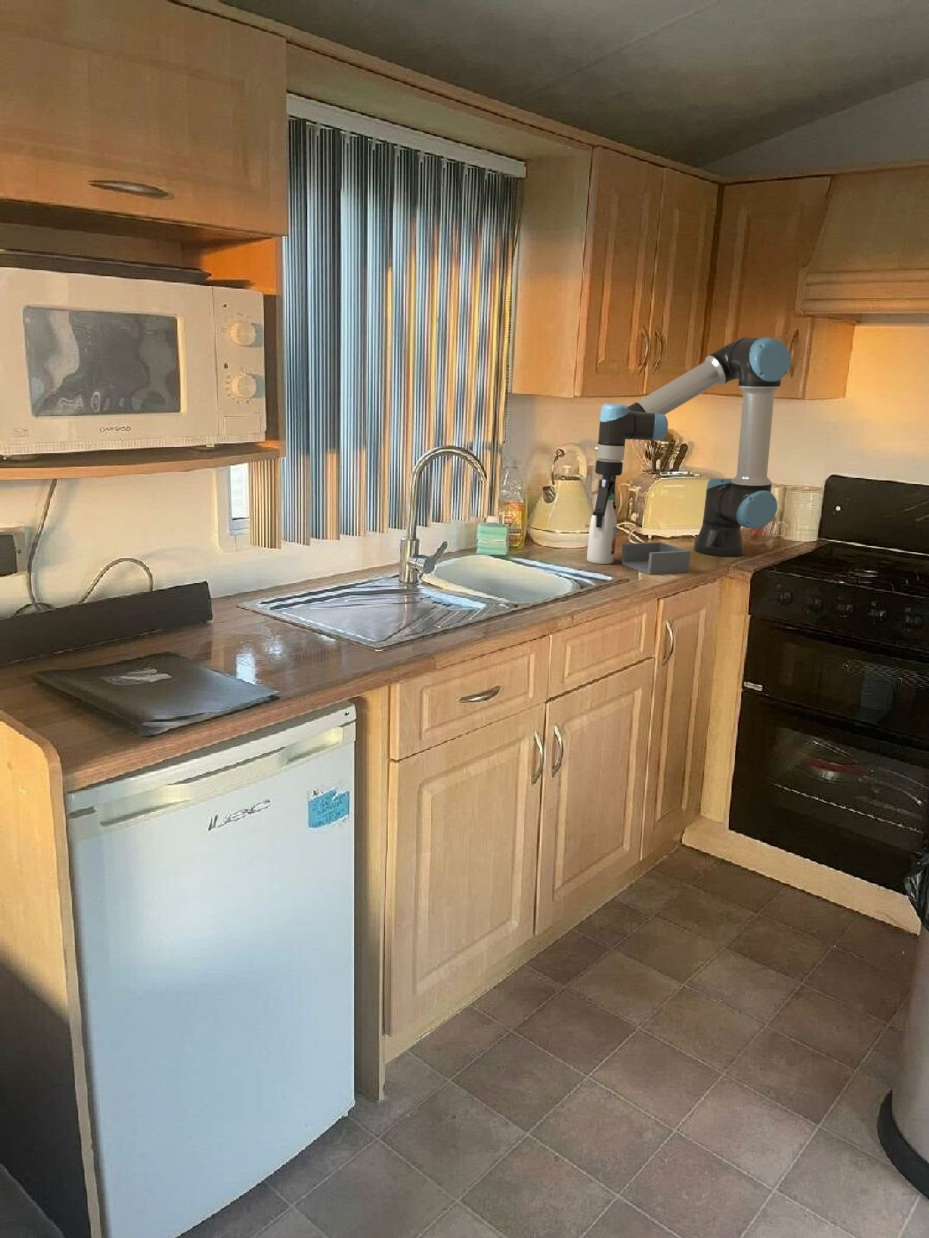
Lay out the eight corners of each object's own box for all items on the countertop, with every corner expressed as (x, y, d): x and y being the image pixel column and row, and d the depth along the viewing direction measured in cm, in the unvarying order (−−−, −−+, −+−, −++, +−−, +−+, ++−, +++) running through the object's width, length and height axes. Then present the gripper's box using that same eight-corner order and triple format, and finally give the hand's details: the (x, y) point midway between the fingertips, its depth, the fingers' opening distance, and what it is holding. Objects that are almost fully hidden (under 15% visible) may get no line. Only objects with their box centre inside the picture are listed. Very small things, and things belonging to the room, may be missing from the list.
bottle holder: (658, 562, 283) (660, 541, 281) (687, 572, 271) (690, 551, 270) (620, 564, 277) (622, 543, 275) (649, 574, 265) (652, 553, 264)
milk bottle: (605, 566, 273) (611, 495, 268) (581, 561, 278) (587, 492, 272) (618, 562, 279) (625, 493, 274) (594, 557, 284) (601, 490, 278)
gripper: (604, 455, 283) (597, 526, 289) (588, 463, 260) (581, 540, 266) (629, 457, 281) (622, 529, 287) (615, 465, 258) (608, 543, 264)
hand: (602, 535), depth 276 cm, fingers open, 13 cm apart
